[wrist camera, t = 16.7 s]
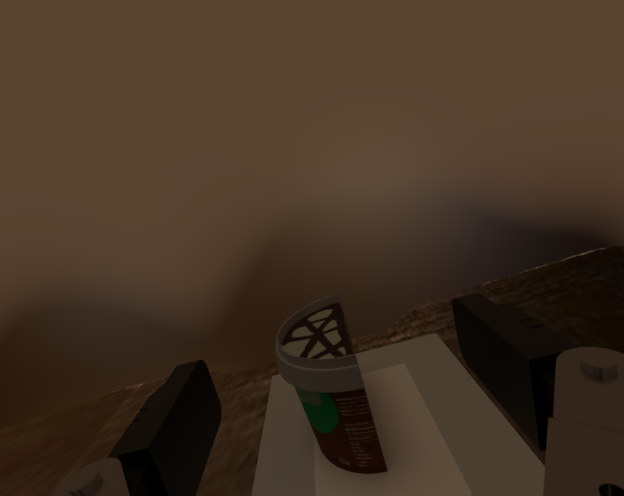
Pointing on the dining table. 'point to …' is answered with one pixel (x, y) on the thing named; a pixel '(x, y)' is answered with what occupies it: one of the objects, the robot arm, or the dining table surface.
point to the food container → (330, 385)
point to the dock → (403, 434)
